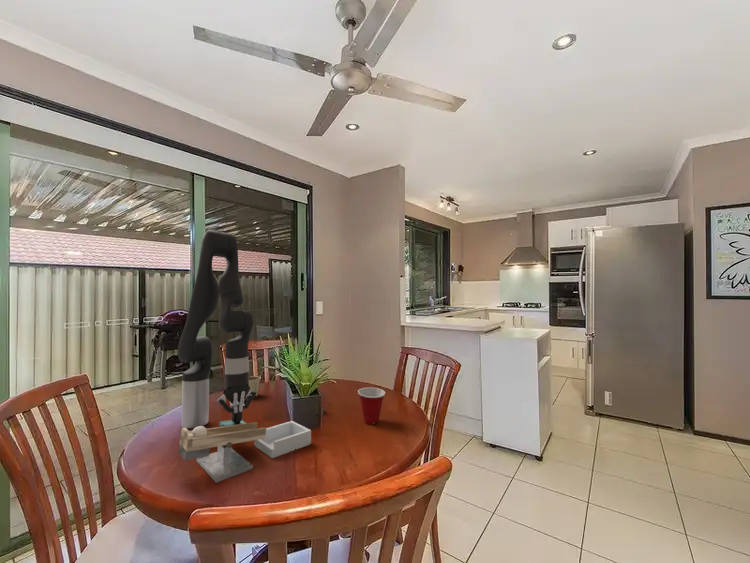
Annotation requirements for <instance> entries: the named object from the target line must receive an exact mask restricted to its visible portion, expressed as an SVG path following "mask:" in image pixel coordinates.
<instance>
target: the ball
mask: <svg viewBox="0 0 750 563" xmlns="http://www.w3.org/2000/svg"><path fill="white" fill-rule="evenodd" d="M206 429H207V427H205V426H204V425H203V426H198V427H196V428H192V430H191V431H192V432H191V433H192V434H193V435H194V436H193V438H195V437H202V436H206V435H207V430H206Z"/></svg>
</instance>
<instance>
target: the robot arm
mask: <svg viewBox="0 0 750 563" xmlns="http://www.w3.org/2000/svg"><path fill="white" fill-rule="evenodd" d="M238 249H239V248H238V242H237V238H236V237H235V235H233V234H231V233H227V232H222V231H217V230H212V229H209V230H206V232H204V234H203V237H202V240H201V246H200V251H199V260H198V268H197V272H196V277H195V280H194V281H195V282H194V285H193V288H192V293H191V297H190V301H189V308H188V313H187V317H186V321H185V324H184V327H183V330H182V333H181V336H180V339H179V342H178V347H177V357H178V360H179V361H180V362H181V363H183V364H187V363H193V362H195V363H194V364H193V365H192V366H191V367H190V368H188V369H187V370H185V371H184V372H182V376H181V377H182V379H181V380H182V382H181V416H180V417H181V419H180V420H181V421H180V423H181V424H180V426H181V428H186V429H194V428H196V427H198V426H203V427H204V426H205V425H207V424H208V423H209V413H210V411H209V409H210V407H209V406H210V403H209V402H210V373H211V370H212V359H213V358H212V357H213V345H212V344H213V343H212V340H211V339H210V337H209V336H198V335H199V332H200V330H201V328H202V327H203V325H204V324H205V323H206V322H207V321H208V320H209V319H210V318H211V316H212V315H213V314H214V312H215V311H216V310H217V308H218V303H219V299H220V301H221V302H220V303H221V309H220V310H221V311H220V317H219V327H220V330H222V331H223V332H224V333H227V334H228V333H238V336H236V337H235V338H231V339H229V340H227V341H226V342H225V361H224V389H223V392H222V393H223V394H222V395H221V396H219V397H218V398H216V402H217V403H218V404H219V405H220V406H221V408H223V409H224V410H225V412H228V413H230V414H231V420H232V422H233V423H234V424H239V423H240V421H243V410H245V409H248V408H249V406H250V404H251V403H252V402H253V399H254V398H256V397H255V395H256V392H254V391H252V390H250V387H249V377H250V362H249V343H250V338H251V334H252V330H253V327H254V322H255V320H254V315H253V314H252V312H251V311H249V310H233V309H236V308H239V307H240V306H242V305H243V304H244V296H243V295H244V294H243V291H242V287H241V286H242V285H241V282H240V274H239V272H240V271H239V269H240V268H239V251H238ZM214 257H217V258H224V259H225V260H226V267H225V269H224V271H223V273H222V275H221V277H220V279H219V282H218V281H217V278H216V276H215V274H214V272H213V259H214ZM246 396H247V397H246ZM245 397H246V398H245ZM227 401H228V402H229V405H230V406H229V405H228V404H227Z"/></svg>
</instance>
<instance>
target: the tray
mask: <svg viewBox="0 0 750 563" xmlns="http://www.w3.org/2000/svg"><path fill="white" fill-rule="evenodd" d="M265 428H266V434H265V439H259V440H253V441H254V443H253V444H254V447H255V448H257V449H258V450H260V451H261V452H262V453H263V454H265V455H266V456H268V457H269V458H271V459H274V458H277V457H280V456H283V455H285V454H288V453H290V451H291V452H293V451H296V450H298V449H301V448H304V447H308V446H310V445H311V444H312V430H311V429H310V428H308V427H305V426H304V425H301V424H299V423H297V422H296V421H293V420H290V421H287V422H283V423H280V424H276V425H273V426H270V427H265ZM295 449H296V450H295Z"/></svg>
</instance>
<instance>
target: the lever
mask: <svg viewBox="0 0 750 563" xmlns="http://www.w3.org/2000/svg"><path fill="white" fill-rule="evenodd" d="M266 428H267V427H258V422H255V421H254V422H248V423H247V422H245V421H244V420H242V421H240V423H239V424H234V423H233V422H232V419H228V420H220V421H218V426H217V427H216V426H215V427H210V428H206V430H207V435H206V436H202V437H195V438H193V436H194V435H193V434H192V433H191V432H192V430H189V428H183V427H181V432H180V437H179V444H178V445H179V448H178V452H177V453H178V455H180V457H181V458H182V459H183V460H184V461H191V460H197V458H202V457H207V456H209V454H210V450H211V448H216V447H217V448H218V446H223V445H226V446H227V447H228V448H230V447H231V448H232V446H233V445H234V444H239V443H246V442H247V443H248V442H253V441H254V440H259V439H265V434H266Z"/></svg>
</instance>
